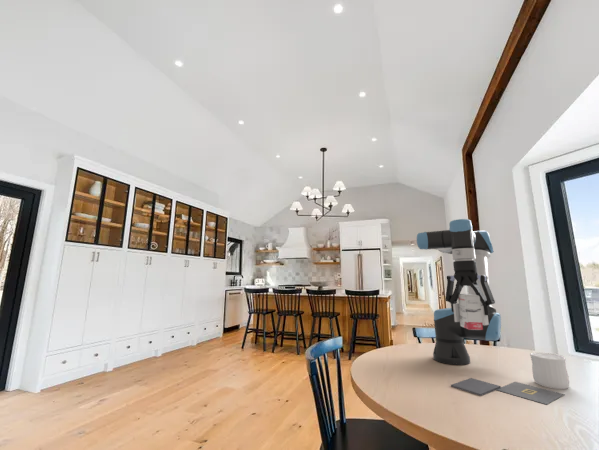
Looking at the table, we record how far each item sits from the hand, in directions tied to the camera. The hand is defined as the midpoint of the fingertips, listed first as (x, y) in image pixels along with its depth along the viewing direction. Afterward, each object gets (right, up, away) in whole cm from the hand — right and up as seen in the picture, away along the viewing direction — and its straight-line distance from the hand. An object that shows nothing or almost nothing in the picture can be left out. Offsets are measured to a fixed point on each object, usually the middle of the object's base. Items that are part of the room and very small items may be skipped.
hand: (471, 323), depth 105 cm
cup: (+28, -21, -2) cm, 35 cm away
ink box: (0, -2, 0) cm, 2 cm away
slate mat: (+14, -20, -9) cm, 26 cm away
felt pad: (-1, -21, -4) cm, 21 cm away
